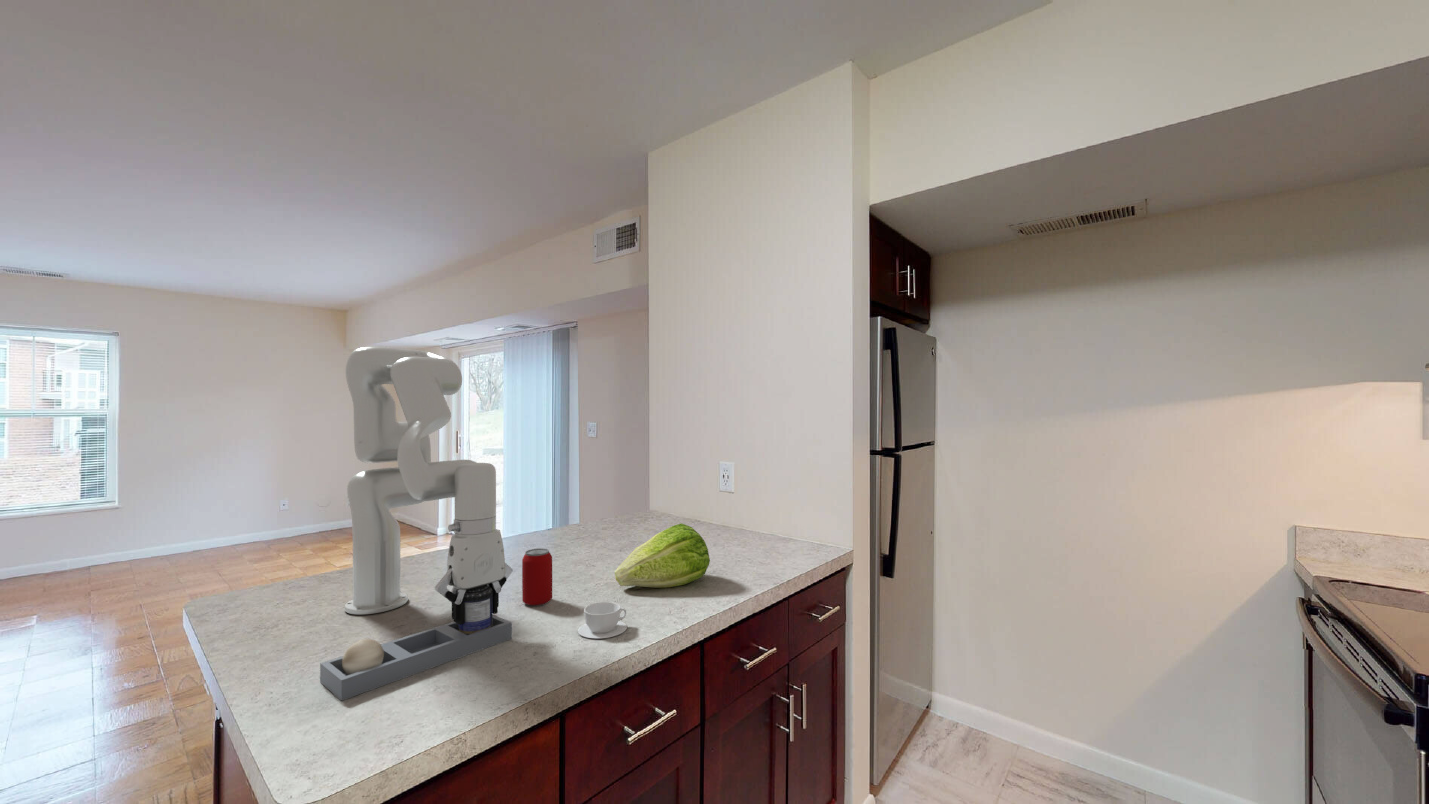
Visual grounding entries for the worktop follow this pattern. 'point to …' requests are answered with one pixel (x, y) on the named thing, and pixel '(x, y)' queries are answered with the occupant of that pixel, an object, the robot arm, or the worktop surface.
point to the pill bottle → (477, 609)
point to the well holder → (412, 656)
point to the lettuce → (666, 560)
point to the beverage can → (537, 577)
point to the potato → (362, 656)
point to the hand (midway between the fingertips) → (475, 616)
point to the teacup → (602, 620)
